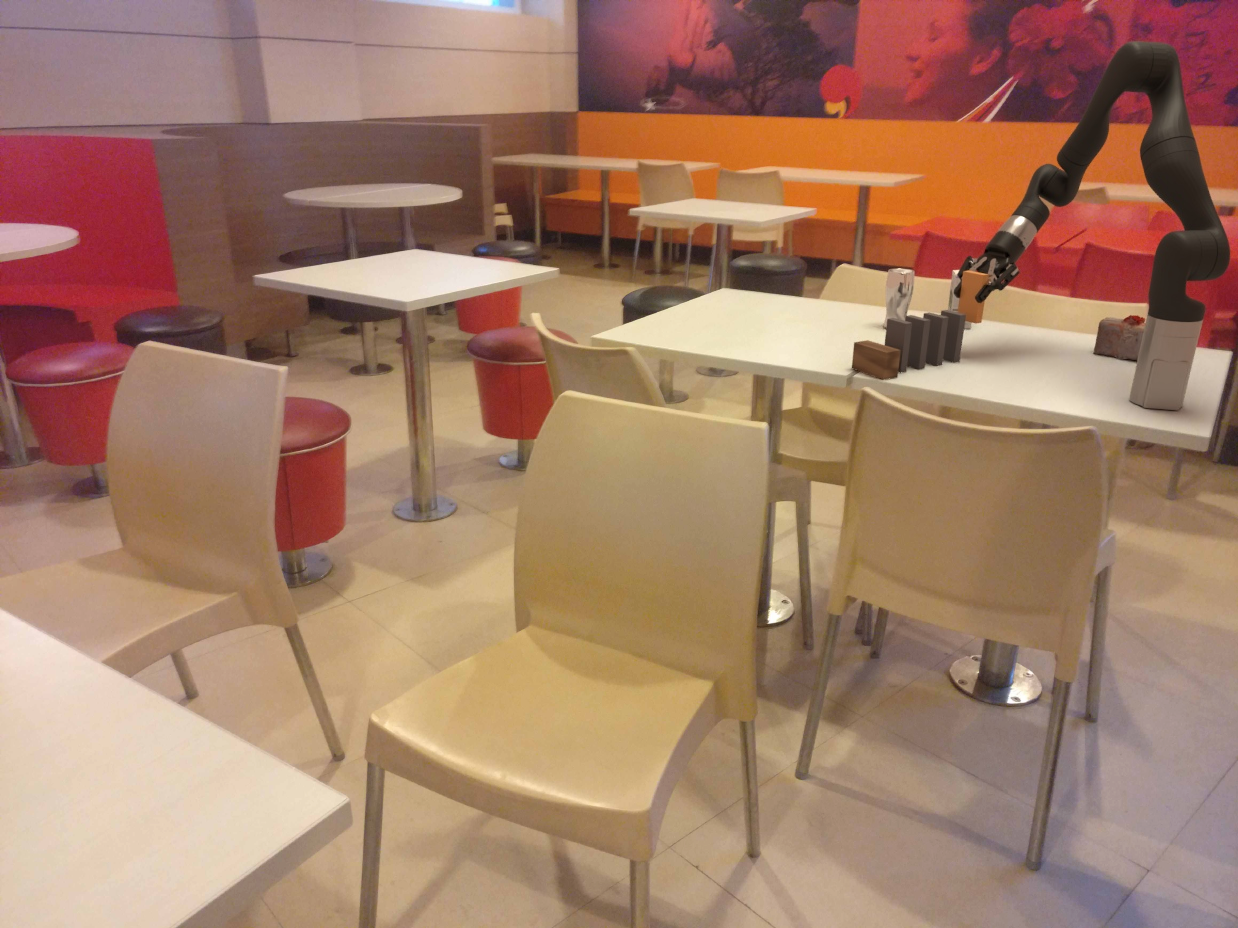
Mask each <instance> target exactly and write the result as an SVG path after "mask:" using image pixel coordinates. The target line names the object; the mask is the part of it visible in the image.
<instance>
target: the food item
mask: <svg viewBox="0 0 1238 928" xmlns="http://www.w3.org/2000/svg"><path fill="white" fill-rule="evenodd" d="M1145 324H1146V319H1145V318H1144V317H1143V316H1142V317H1141V316H1140V315H1138V314H1137V315H1132V314H1130V315H1128V316H1127V317H1125V318H1118V317H1111V316H1110V317H1108V316H1107V317H1105V318H1103V319H1101V320H1100V321H1099V322H1098V327H1097V332H1096V333H1097V335H1096V338H1095V344H1094V348H1093V354H1094V353H1095V354H1096V355H1102V356H1107V357H1111V358H1112V357H1115V358H1116V359H1118V360H1131V361H1135V362H1137V360H1138V355H1139V351H1140V346H1141V342H1142V337H1143V333H1144V328H1145ZM1095 354H1094V355H1095Z"/></svg>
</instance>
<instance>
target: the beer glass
mask: <svg viewBox="0 0 1238 928" xmlns="http://www.w3.org/2000/svg"><path fill="white" fill-rule="evenodd" d="M914 288H915V270H913V269H909V268H890V269H888V272H887V277H886V282H885V292H884V293H885V295H884V296H885V307H886V308H885V309H886V311H885V313H886V314H885V319H884V321H883V322H884V323H883V326H882V327H883V329H885V330H886V327H887V319H889V318H896V319H900V320H904V321H905V318H906V316H908V311H909V308H910V305H911V302H912V298H913V295H914Z"/></svg>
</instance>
